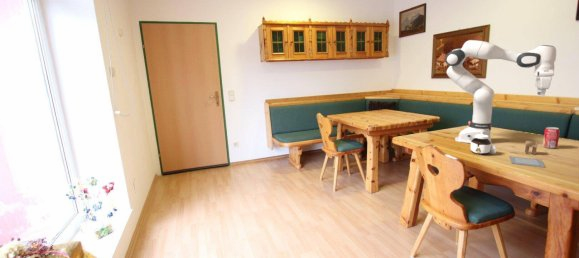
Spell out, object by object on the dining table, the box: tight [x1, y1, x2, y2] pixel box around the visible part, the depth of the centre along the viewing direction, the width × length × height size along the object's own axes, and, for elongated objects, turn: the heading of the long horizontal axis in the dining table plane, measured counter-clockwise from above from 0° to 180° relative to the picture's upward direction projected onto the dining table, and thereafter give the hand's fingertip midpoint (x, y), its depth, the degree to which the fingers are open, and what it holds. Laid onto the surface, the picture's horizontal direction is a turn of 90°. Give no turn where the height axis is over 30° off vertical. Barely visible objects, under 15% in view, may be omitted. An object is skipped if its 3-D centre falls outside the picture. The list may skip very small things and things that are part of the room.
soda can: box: [542, 126, 561, 150], centre depth 181 cm, size 7×7×13 cm
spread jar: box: [470, 134, 497, 156], centre depth 176 cm, size 12×11×12 cm
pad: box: [509, 155, 546, 168], centre depth 159 cm, size 14×14×1 cm
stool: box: [524, 140, 539, 156], centre depth 172 cm, size 5×5×7 cm
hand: (540, 95), depth 173 cm, fingers open, 8 cm apart
